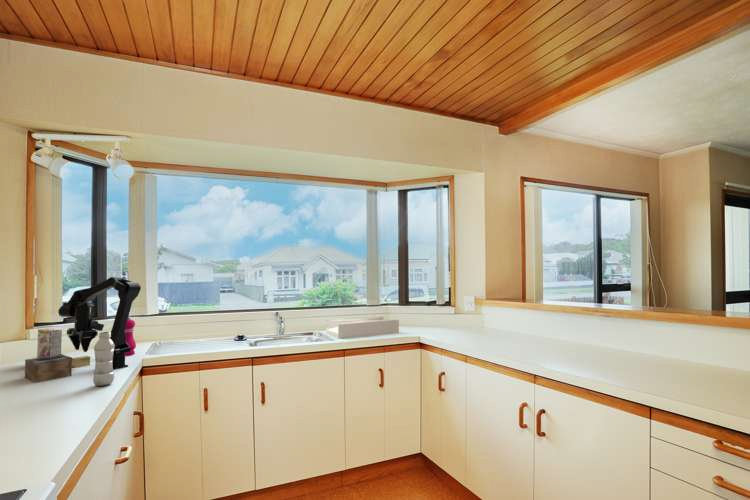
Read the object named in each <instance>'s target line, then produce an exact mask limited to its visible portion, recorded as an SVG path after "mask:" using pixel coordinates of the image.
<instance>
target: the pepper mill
mask: <svg viewBox="0 0 750 500" xmlns="http://www.w3.org/2000/svg"><path fill="white" fill-rule="evenodd" d="M135 326H136V322H135V320H133V319H132V318H131V316H128V320H127V323H126V327H125V330H124V332H125V335H126V342H127V343H128V345H129V346H130V347H131V349H130V352H125V357H131V356H134V355H135V353H136V352H135V351H136V350H135V349H136V348H137V344H136V341H135V338H134V334H133V333H134V332H135V331H134V330H135Z"/></svg>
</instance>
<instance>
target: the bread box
mask: <svg viewBox="0 0 750 500" xmlns="http://www.w3.org/2000/svg"><path fill="white" fill-rule="evenodd" d="M325 325H326V329H325V330H326V332H325V333H326V335H328V336H331V337H334V338H336V339H351V338H359V337H369V336H371V335H372V336H380V334H383V335H389V334H390V335H391V334H400V332H399V331H400V323H399V319H384V316H377V317H376V316H375V317H361V318H359V317H358V318H350V319H349V318H347V319H346V318H345V319H333V320H331V319H329V320H326V323H325Z"/></svg>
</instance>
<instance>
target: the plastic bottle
mask: <svg viewBox="0 0 750 500" xmlns="http://www.w3.org/2000/svg"><path fill="white" fill-rule="evenodd" d="M110 337H111V331H103V332H102V331H100V332H98V340H97V341H96V342H95V344H94V346H93V350H94V358H95V359H94V360H95V361H94V362H95V367H94V374H93V378H92V382H93V385H94V386H95V387H97V386H98V387H99V386H100V387H103V386H107V385H111V384H112V383H113V382H114V381H115V372H114V369H113V364H112V362H113V360H112V359H113V353H114V347H115V345H114V343H113V341H112V340H111V339H110Z"/></svg>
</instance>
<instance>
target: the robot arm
mask: <svg viewBox="0 0 750 500" xmlns="http://www.w3.org/2000/svg"><path fill="white" fill-rule="evenodd" d="M111 289H114V290H116V291H117V296H118V299H119V303H118V306H117V310H116V313H115V316H114V321H113V324H112V327H111V331H110V332H111V337H110V339H111V340H112V341H113V343H114V345H115V347H114V353H113V359H112V360H113V362H112V364H113V370H117V369H121V368H126V367H129V365H128V364H126V356H125V352H130V349H131V347H130V346H129V345H128V343H127V342H126V335H125V332H124V330H125V327H126V323H127V320H128V317H130V312H131V308H132V304H133V302H134V301H135V300H136V298H137V297H138V296H139V295H140V292H141V289H142V287H141V284H140V283H139V282H137V281H132V280H129V279H125V278H123V277H121V276H110V277H108V278H107V279H105V280H103V281H101V282H98V283H97V284H95V285H93V286H90V287H88V288H82V289H78V290H75V291H74V292H73V293H72V294H71V295H72V296H71V297H70V299H69V300H68V302H67V301H65V302H63V303H62V305H61V306H60V307H59V309H58V315H59V316H60V317H62V318H74V319H72V322H73V323H74V327H69V328H68V329H67V330H66V335H67V337H68V338H69V340H70V341H71V343H72V345H73V347H74V350H76V351H79V350H80V347H82V348H81V349H82V351H83V352H84V353H87V352H88V350H89V347H90V345H91V342H92V340H94V339H95V338H96V337H99V332H102V331H103V330H104V327H105V324H103V323H99V321H97V320H93V319H92V318H91V308H94V307H95V305H94V304H93V303H92V301H94V300H95V299H96V298H97V297H98V295H100V294H103V293H104V292H107V291H109V290H111ZM98 331H99V332H98Z"/></svg>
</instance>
